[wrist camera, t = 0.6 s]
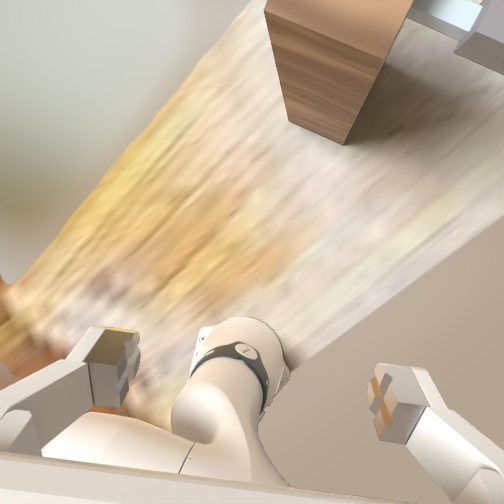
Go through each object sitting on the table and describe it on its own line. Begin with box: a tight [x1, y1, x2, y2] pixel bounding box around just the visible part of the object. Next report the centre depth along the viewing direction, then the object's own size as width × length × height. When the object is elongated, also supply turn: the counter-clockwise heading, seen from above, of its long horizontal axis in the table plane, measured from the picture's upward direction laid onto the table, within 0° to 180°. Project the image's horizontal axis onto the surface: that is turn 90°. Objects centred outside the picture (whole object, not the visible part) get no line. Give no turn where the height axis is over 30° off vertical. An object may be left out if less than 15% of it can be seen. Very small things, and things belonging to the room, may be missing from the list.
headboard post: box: [264, 0, 414, 145], centre depth 39 cm, size 14×10×31 cm
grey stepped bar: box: [406, 0, 504, 75], centre depth 26 cm, size 16×4×4 cm, turn 64°
